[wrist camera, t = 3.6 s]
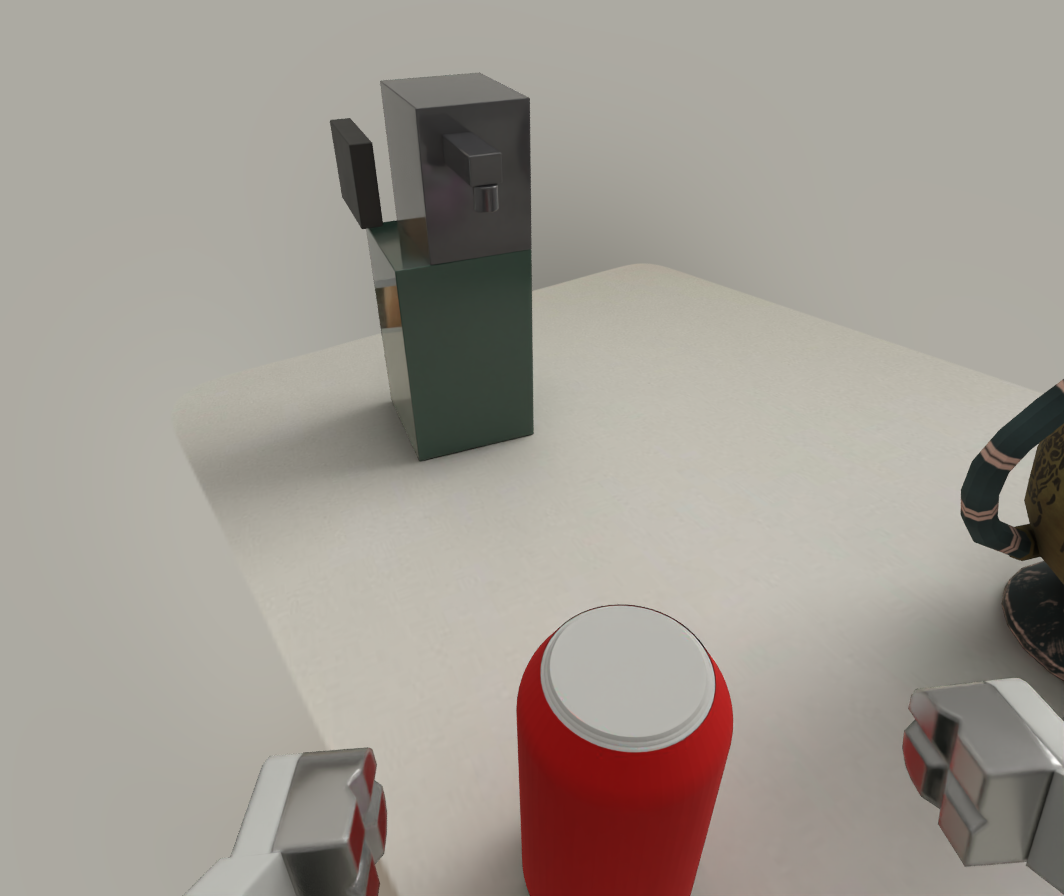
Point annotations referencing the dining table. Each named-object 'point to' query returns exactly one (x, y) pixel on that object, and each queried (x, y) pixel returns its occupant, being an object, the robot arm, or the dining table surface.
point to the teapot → (1053, 533)
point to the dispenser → (457, 262)
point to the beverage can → (619, 755)
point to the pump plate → (357, 172)
